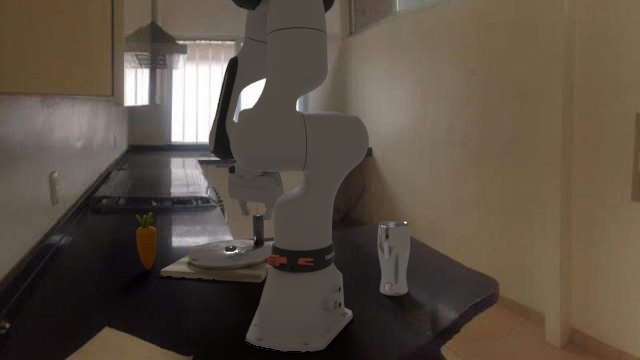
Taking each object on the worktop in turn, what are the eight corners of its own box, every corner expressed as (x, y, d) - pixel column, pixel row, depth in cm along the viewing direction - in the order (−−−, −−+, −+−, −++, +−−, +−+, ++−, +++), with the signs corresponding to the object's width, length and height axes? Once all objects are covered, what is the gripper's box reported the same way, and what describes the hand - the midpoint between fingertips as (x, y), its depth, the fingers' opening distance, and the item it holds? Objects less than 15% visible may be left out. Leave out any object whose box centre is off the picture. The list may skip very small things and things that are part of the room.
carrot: (134, 272, 120) (130, 214, 118) (146, 266, 124) (143, 210, 123) (150, 273, 118) (146, 215, 116) (162, 267, 123) (159, 211, 121)
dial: (288, 257, 124) (287, 220, 123) (214, 275, 110) (212, 233, 109) (244, 242, 141) (242, 209, 140) (174, 256, 126) (172, 220, 125)
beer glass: (409, 297, 99) (410, 228, 97) (376, 295, 100) (376, 227, 99) (410, 286, 106) (410, 221, 104) (378, 284, 107) (378, 220, 105)
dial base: (260, 282, 110) (260, 275, 110) (160, 276, 116) (160, 269, 116) (291, 252, 135) (291, 246, 135) (208, 248, 141) (208, 243, 141)
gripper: (288, 168, 124) (290, 220, 126) (241, 166, 138) (243, 212, 140) (270, 170, 120) (272, 224, 121) (223, 167, 134) (225, 215, 135)
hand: (256, 217), depth 130 cm, fingers open, 8 cm apart
